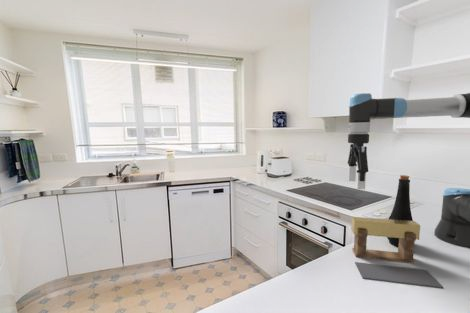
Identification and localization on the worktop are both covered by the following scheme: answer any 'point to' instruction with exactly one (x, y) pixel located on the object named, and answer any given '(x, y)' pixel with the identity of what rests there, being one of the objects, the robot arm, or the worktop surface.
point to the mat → (397, 274)
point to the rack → (402, 255)
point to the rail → (385, 227)
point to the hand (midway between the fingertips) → (355, 184)
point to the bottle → (401, 205)
